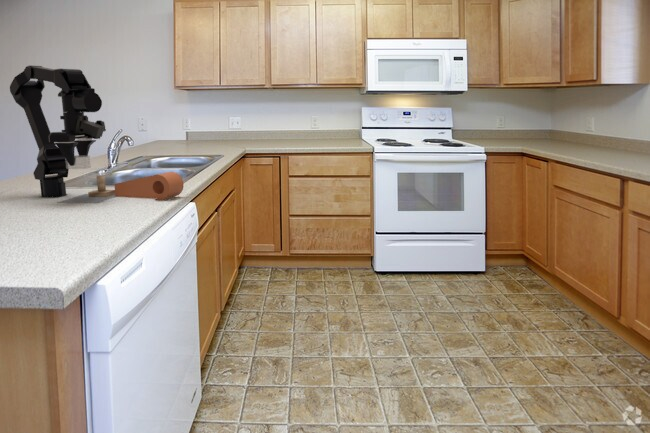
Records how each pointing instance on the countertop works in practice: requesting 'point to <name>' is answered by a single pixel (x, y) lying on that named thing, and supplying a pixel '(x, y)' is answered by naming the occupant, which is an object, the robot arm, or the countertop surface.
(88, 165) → the collar
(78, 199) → the mat
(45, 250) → the countertop surface
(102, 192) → the tan stamp
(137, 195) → the crank
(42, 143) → the robot arm
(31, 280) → the countertop surface
